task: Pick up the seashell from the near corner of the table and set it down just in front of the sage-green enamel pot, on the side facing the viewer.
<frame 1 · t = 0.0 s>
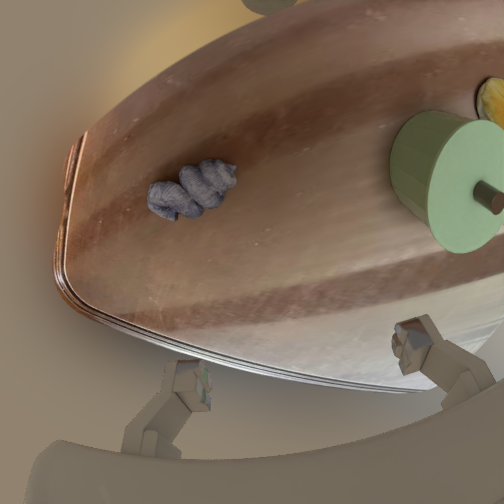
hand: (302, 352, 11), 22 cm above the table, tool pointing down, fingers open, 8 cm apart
pot: (434, 163, 28), on the table
pot lid: (477, 189, 21), point 8 cm above the table, touching pot
seashell: (195, 181, 30), on the table
bread roll: (492, 106, 23), on the table
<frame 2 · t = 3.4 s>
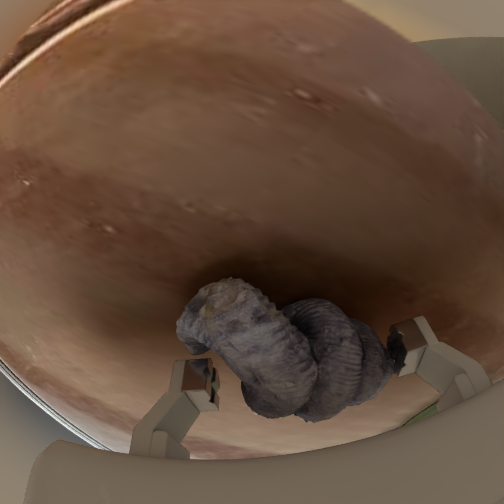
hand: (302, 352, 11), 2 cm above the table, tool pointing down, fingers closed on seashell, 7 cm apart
seashell: (292, 315, 13), on the table, touching gripper
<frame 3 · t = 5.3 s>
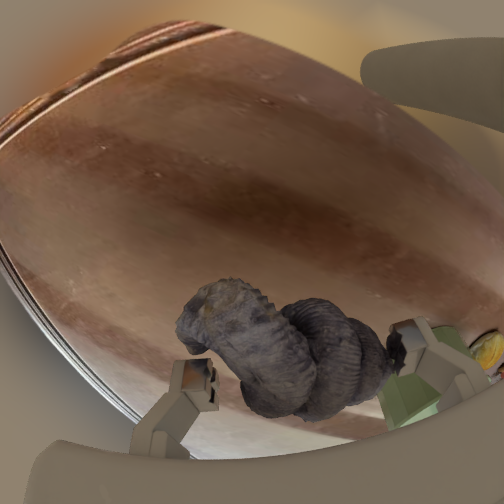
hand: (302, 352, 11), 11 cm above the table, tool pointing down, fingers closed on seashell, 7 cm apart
pot: (418, 361, 31), on the table
pot lid: (441, 412, 24), point 8 cm above the table, touching pot
seashell: (291, 315, 13), point 9 cm above the table, touching gripper
bread roll: (479, 347, 33), on the table
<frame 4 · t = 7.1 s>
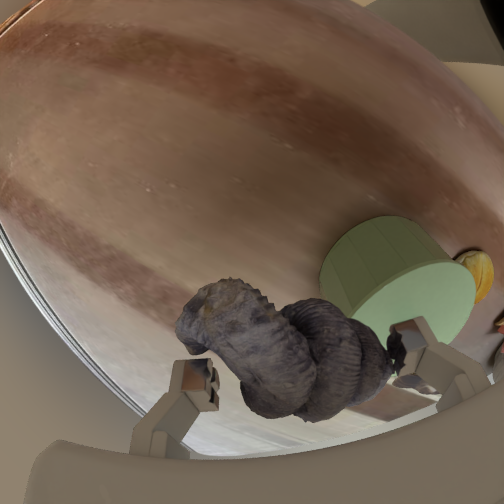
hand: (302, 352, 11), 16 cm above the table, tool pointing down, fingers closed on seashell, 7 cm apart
pot: (378, 272, 29), on the table
pot lid: (410, 327, 22), point 8 cm above the table, touching pot
seashell: (291, 316, 13), point 14 cm above the table, touching gripper
bread roll: (462, 273, 30), on the table
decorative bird: (424, 365, 41), on the table
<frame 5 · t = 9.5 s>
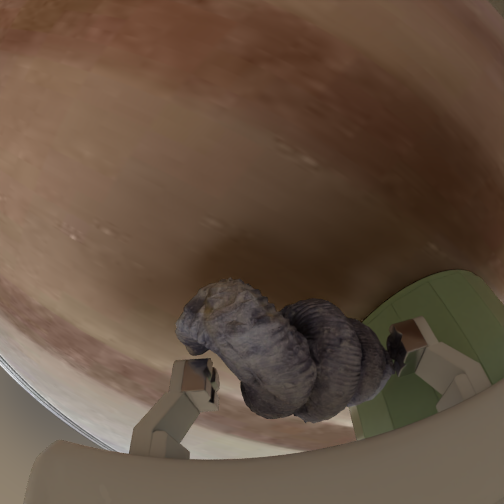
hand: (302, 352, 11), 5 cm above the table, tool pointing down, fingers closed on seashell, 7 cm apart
pot: (419, 340, 19), on the table
seashell: (292, 316, 13), point 3 cm above the table, touching gripper
when the fingers open (2 cm above the table, at t = 11.1 s): seashell stays where it is, on the table.
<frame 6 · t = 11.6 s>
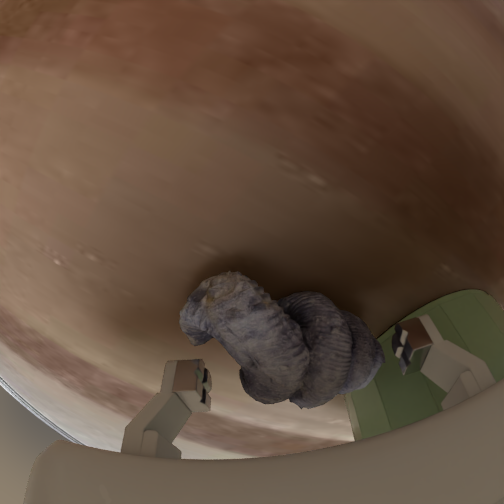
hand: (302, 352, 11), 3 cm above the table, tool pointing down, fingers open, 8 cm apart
pot: (426, 359, 17), on the table
seashell: (287, 309, 14), on the table
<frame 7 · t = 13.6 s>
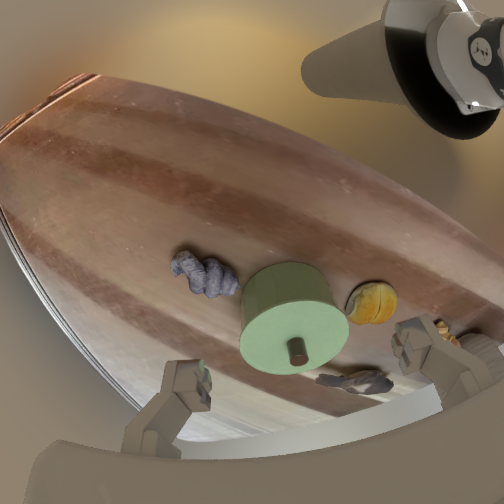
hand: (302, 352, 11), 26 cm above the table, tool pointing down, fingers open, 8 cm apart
vase: (456, 350, 58), on the table
pot: (285, 299, 43), on the table
pot lid: (295, 340, 36), point 8 cm above the table, touching pot
seashell: (207, 265, 40), on the table
bread roll: (368, 299, 45), on the table
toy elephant: (435, 332, 52), on the table
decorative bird: (354, 370, 56), on the table
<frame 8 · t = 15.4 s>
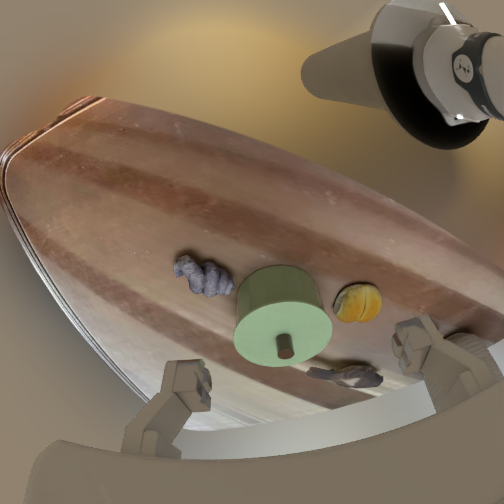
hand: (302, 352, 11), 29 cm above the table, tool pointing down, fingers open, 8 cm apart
vase: (446, 349, 62), on the table
pot: (277, 298, 48), on the table
pot lid: (283, 336, 41), point 8 cm above the table, touching pot
seashell: (206, 267, 44), on the table
bread roll: (355, 299, 49), on the table
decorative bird: (345, 364, 60), on the table
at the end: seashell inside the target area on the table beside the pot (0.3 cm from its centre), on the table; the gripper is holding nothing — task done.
